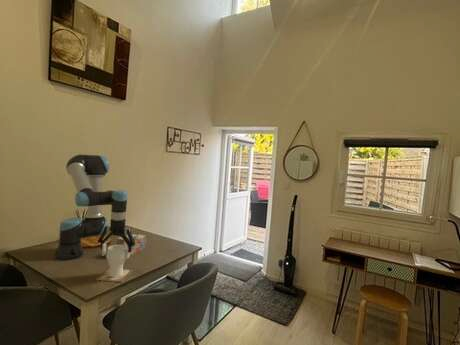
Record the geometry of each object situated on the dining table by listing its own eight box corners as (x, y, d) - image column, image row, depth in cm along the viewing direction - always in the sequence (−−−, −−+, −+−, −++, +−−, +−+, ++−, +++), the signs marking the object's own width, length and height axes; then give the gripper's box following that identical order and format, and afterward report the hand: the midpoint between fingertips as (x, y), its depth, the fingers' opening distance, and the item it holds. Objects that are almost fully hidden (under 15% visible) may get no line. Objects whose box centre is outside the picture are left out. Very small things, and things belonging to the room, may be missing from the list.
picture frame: (95, 280, 132) (95, 278, 132) (109, 268, 146) (109, 267, 146) (121, 282, 132) (121, 281, 132) (132, 270, 146) (132, 269, 146)
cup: (129, 270, 145) (130, 245, 144) (121, 279, 134) (123, 251, 133) (110, 269, 144) (112, 243, 144) (101, 278, 134) (103, 250, 133)
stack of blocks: (138, 246, 184) (139, 230, 184) (145, 248, 182) (146, 231, 181) (115, 256, 164) (117, 237, 164) (123, 258, 162) (124, 239, 161)
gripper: (92, 218, 134) (89, 256, 136) (137, 223, 133) (135, 261, 135) (99, 214, 142) (97, 251, 143) (143, 219, 141) (140, 256, 142)
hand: (115, 256), depth 139 cm, fingers open, 13 cm apart
